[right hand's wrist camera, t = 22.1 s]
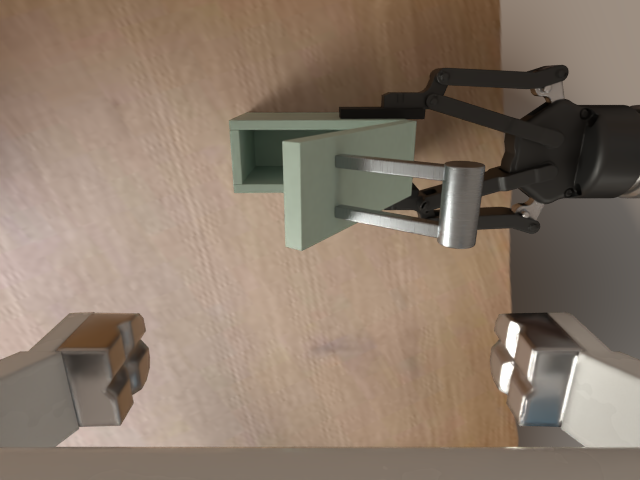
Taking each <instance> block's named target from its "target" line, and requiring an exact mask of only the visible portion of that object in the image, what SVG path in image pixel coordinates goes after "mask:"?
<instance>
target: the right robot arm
mask: <svg viewBox="0 0 640 480" xmlns="http://www.w3.org/2000/svg"><path fill="white" fill-rule="evenodd" d="M145 331H146V329H145V324H144V319H143V317H142V316H141V315H140V314H138V313H94V312H85V313H69V314H68V315H67V316H66V317H65V318H64V319H63V320H62V321H61V322H60V323H59V324H57V325H56V326H55V327H54V328H53V329H52V330H51V331H50V332H49V333H48V334H47V335H45V336H44V337H43V338H42V339H41V340H40V341H39V342H38V343H37V344H36V345H35V346H33V347H32V348H31V349H30V350H29V351H28V352H18V353H16V354H13V355H11V356H9V357H6V358H4V359H1V360H0V480H640V360H639V359H636V358H634V357H631V356H629V355H627V354H624V353H622V352H612V351H611V350H610V349H609V348H608V347H607V346H606V345H604V344H603V343H602V342H601V341H600V340H599V339H598V338H597V337H596V336H595V335H594V334H592V333H591V332H590V331H589V330H588V329H587V328H586V327H585V326H584V325H583V324H582V323H580V322H579V321H578V320H577V319H576V318H575V317H574V316H573V315H572V314H569V313H566V312H557V313H515V314H499V315H498V318H497V320H496V323H495V329H494V331H495V333H496V334H497V336H498V337H499V340H498V341H497V343H496V344H495V345H494V346H493V347H492V348H491V356H490V366H491V374H492V377H493V380H494V382H495V384H496V386H497V388H498V389H499V390H501V391H502V392H504V393H505V394H507V395H508V397H507V405H508V407H509V408H510V410H511V412H512V413H513V415H514V417H515V419H516V420H517V422H518V424H519V425H520V426H551V427H561V429H562V430H563V431H565V432H566V433H567V434H569V435H570V436H571V437H573V438H574V439H575V440H577V441H578V442H579V443H581V444H582V445H583V446H585V447H56V446H57V445H58V444H60V443H61V442H62V441H64V440H65V439H66V438H68V437H69V436H70V435H71V434H73V433H74V432H75V431H77V430H78V429H79V427H89V426H120V425H121V424H122V422H123V420H124V419H125V417H126V415H127V413H128V412H129V410H130V408H131V407H132V405H133V397H132V395H133V394H135V393H136V392H138V391H139V390H141V389H142V388H143V386H144V384H145V382H146V380H147V376H148V372H149V368H150V355H149V348H148V347H147V346H146V345H145V344H144V343H143V341H142V340H141V337H142V336H143V334H144V333H145Z"/></svg>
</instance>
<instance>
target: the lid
mask: <svg viewBox="0 0 640 480" xmlns="http://www.w3.org/2000/svg"><path fill="white" fill-rule="evenodd" d="M416 122H417V121H410V120H401V121H395V122H389V123H384V124H378V125H372V126H366V127H360V128H354V129H349V130H343V131H337V132H331V133H325V134H320V135H314V136H308V137H302V138H296V139H290V140H285V141H282V148H283V180H284V211H285V243H286V247H289V248H293V249H297V250H300V251H303V250H305V249H307V248H309V247H311V246H313V245H315V244H317V243H318V242H320V241H322V240H324V239H326V238H328V237H330V236H332V235H334V234H336V233H338V232H340V231H342V230H344V229H346V228H348V227H350V226H352V225H354V224H356V223H358V222H359V223H364V224H369V225H374V226H379V227H384V228H389V229H394V230H400V231H405V232H410V233H415V234H420V235H425V236H430V237H435V238H437V241H438V243H439V244H441V245H443V246H446V247H449V248H455V249H466V248H471V247H473V246H474V245H475V243H476V235H477V227H478V219H479V212H480V204H481V196H482V188H483V181H484V173H485V165H484V164H481V163H477V162H470V161H450V162H446V163H445V164H438V163H428V162H418V161H414V150H415V136H416ZM413 177H415V178H423V179H431V180H439V181H443V184H442V194H441V205H440V215H439V221H434V220H428V219H423V218H417V217H411V216H405V215H400V214H394V213H388V212H383V211H381V210H383V209H385V208H387V207H389V206H391V205H393V204H395V203H397V202H399V201H401V200H403V199H405V198H407V197H409V196H411V192H412V178H413Z"/></svg>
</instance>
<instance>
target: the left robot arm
mask: <svg viewBox="0 0 640 480" xmlns="http://www.w3.org/2000/svg"><path fill="white" fill-rule="evenodd" d="M567 76H568V68H567V67H566V66H564V65H552V66H543V67H540V68H537V69H534V70H531V71H527V72H518V71H498V70H478V69H459V68H439V69H435V70H433V71H432V72H431V73H430V79H429V82H428V84H427V86H426V88H425V89H424V90H423V91H421V92H388V93H385V94H383V95H382V100H381V107H339V117H340V119H425V109H431V110H434V111H437V112H441V113H444V114H447V115H450V116H453V117H456V118H460V119H463V120H466V121H469V122H472V123H476V124H479V125H482V126H485V127H488V128H491V129H495V130H498V131H501V132H504V133H505V140H504V143H505V153H504V156H503V158H502V161H501V166H498V167H495V168H491V169H489V170H488V171H487V172H485V173H484V181H483V188H482V196H484V195H487V194H491V193H495V192H498V191H509V190H513V189H517V188H518V189H520V190H521V191H522V192H523V193H525V194H526V195H527V196H528V197H530V198H529V200H528V201H527V202H525V203H517V204H514V205H513V206H512V209H510V208H506V207H485V208H480V212H479V219H478V227H477V230H480V229H502V228H513V229H517V230H520V231H523V232H526V233H530V234H534V233H536V232H537V231H538V230H539V229H540V224H539V222H538V221H536V220H537V218H538V216H539V214H540V212H541V210H542V208H543V206H544V204H549V203H552V202H554V201H556V200H558V199H562V198H615V197H620V198H640V105H634V106H630V107H629V106H626V105H576V104H574V103H572V102H571V101H569V100H567V99H564V91H563V83H562V81H563V80H565V79H566V78H567ZM448 85H455V86H475V87H496V88H517V89H530V90H531V93H532V94H533V95H534V96H543V97H544V98H545V99H546V102H545V103H544V104H542V105H541V106H539V107H538V108H536V109H535V110H533V111H532V112H530V113H529V114H527V115H526V116H524V117H523V118H521V119H516V118H513V117H509V116H506V115H503V114H500V113H497V112H493V111H490V110H487V109H484V108H481V107H478V106H475V105H471V104H468V103H465V102H462V101H459V100H456V99H453V98H449V97H446V96H443V95H444V93H445V91H446V88H447V86H448ZM441 194H442V184H441V185H437V186H434V187H430V188H427V189H423V190H420V191H419V189H418V188H417V187H416V186H415V185H414V184H413V183H412V192H411V196H409V197H407V198H405V199H403V200H401V201H399V202H397V203H395V204H393V205H391V206H389V207H387V208H385V209H383V210H415V211H417V213H418V218H423V219H428V220H434V221H439V215H440V210H434V209H437V208H440V205H441Z"/></svg>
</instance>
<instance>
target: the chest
mask: <svg viewBox="0 0 640 480" xmlns="http://www.w3.org/2000/svg"><path fill="white" fill-rule="evenodd" d="M401 120H407V119H340V117H339V112H247V113H245V114H242V115H240V116H238V117H236V118H233V119H231V120H229V128H230V141H231V155H232V169H233V183H234V193H284V180H283V148H282V141H285V140H290V139H296V138H302V137H308V136H314V135H320V134H325V133H331V132H337V131H343V130H349V129H354V128H360V127H366V126H372V125H378V124H384V123H389V122H395V121H401Z"/></svg>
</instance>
